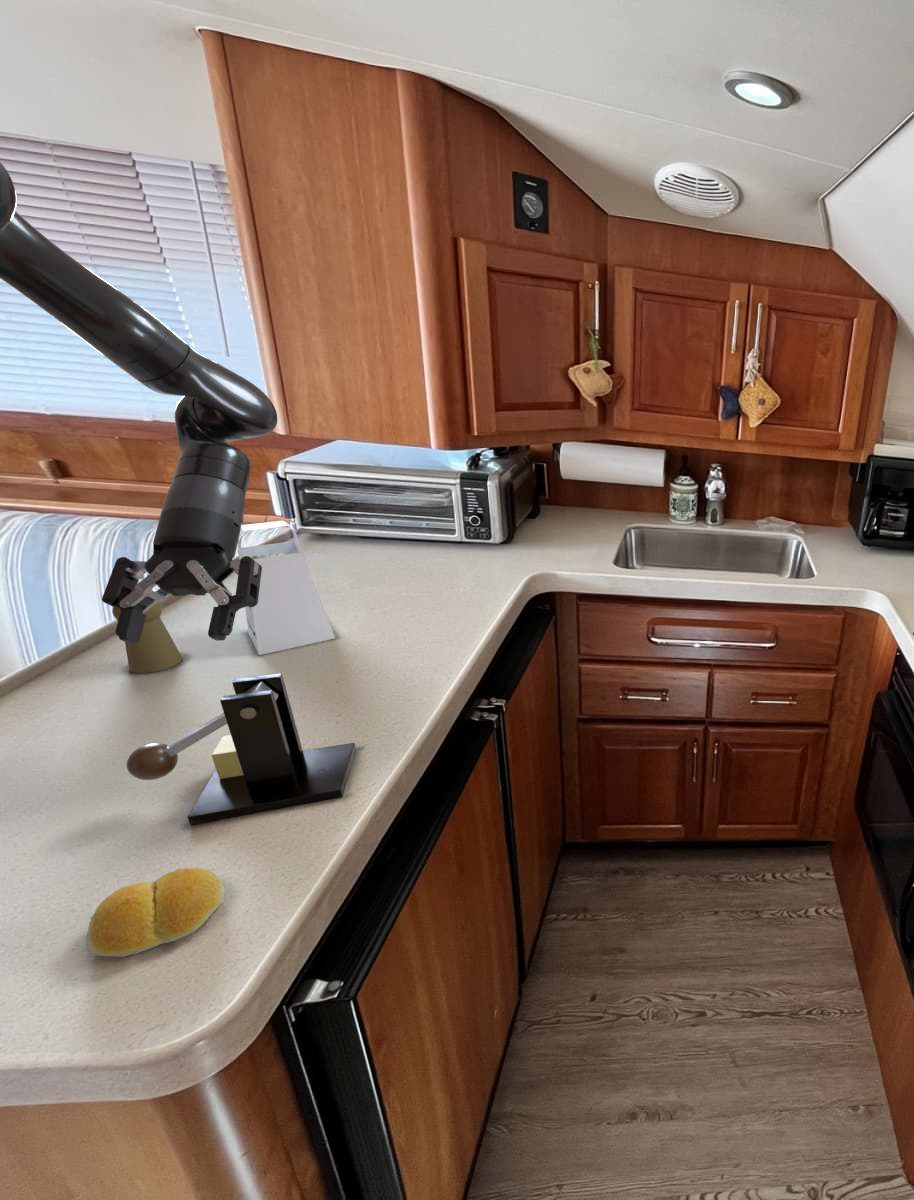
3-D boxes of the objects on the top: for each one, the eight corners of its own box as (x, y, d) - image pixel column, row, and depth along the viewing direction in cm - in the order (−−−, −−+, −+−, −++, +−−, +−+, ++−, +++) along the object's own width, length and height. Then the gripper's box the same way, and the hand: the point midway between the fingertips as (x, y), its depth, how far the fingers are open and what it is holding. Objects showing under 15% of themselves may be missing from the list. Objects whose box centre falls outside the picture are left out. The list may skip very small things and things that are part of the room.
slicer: (190, 826, 70) (151, 720, 65) (221, 771, 78) (188, 674, 73) (342, 797, 76) (317, 698, 70) (356, 749, 84) (335, 658, 79)
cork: (184, 665, 100) (163, 601, 95) (130, 677, 95) (105, 610, 91) (180, 651, 103) (159, 588, 99) (128, 662, 99) (104, 597, 95)
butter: (219, 779, 75) (211, 755, 74) (230, 759, 79) (222, 736, 77) (261, 772, 77) (254, 748, 76) (270, 753, 80) (263, 730, 79)
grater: (248, 632, 111) (217, 522, 103) (320, 618, 118) (296, 513, 110) (259, 655, 104) (226, 538, 96) (335, 638, 111) (310, 528, 104)
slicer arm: (144, 793, 70) (108, 772, 67) (159, 771, 73) (126, 750, 71) (277, 713, 72) (247, 689, 70) (286, 695, 75) (258, 672, 73)
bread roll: (227, 925, 59) (215, 894, 58) (88, 977, 54) (71, 944, 52) (227, 869, 65) (216, 839, 64) (102, 911, 60) (87, 879, 58)
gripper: (110, 504, 75) (71, 632, 70) (252, 505, 79) (226, 627, 73) (154, 533, 82) (121, 652, 76) (282, 533, 86) (261, 647, 80)
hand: (173, 640), depth 75 cm, fingers open, 8 cm apart
